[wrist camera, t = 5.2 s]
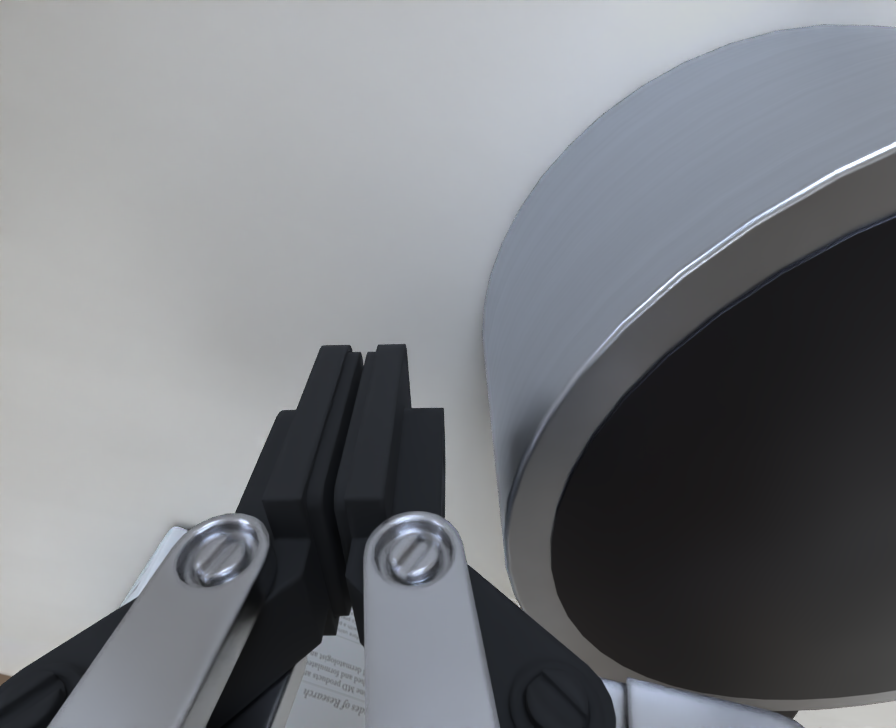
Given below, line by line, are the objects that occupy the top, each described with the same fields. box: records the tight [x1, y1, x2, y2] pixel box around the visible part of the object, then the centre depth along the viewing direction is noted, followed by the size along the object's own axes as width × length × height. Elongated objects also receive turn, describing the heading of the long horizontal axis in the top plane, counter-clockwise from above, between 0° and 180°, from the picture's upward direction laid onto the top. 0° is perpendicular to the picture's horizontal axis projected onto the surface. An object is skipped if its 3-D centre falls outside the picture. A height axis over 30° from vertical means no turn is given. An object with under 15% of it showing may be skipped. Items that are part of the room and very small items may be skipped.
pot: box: [482, 25, 896, 719], centre depth 10 cm, size 16×12×6 cm
